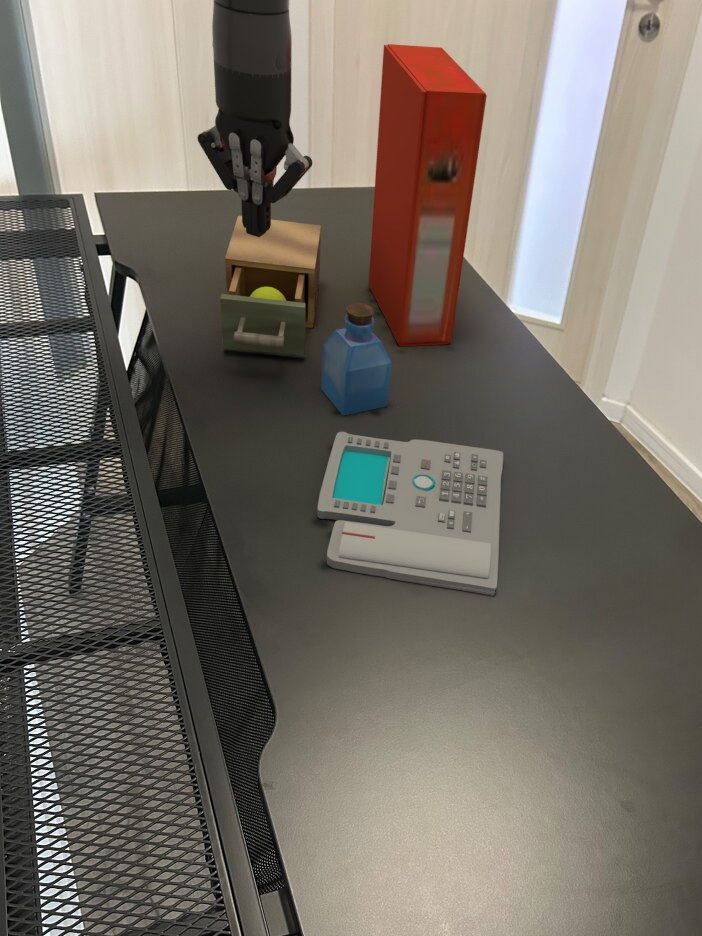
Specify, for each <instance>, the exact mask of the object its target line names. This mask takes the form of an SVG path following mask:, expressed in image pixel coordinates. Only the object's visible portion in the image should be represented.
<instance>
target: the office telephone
mask: <svg viewBox="0 0 702 936" xmlns="http://www.w3.org/2000/svg"><path fill="white" fill-rule="evenodd" d="M503 466H504V451H500V450H496V449H490V448H484V447H477V446H476V447H475V446H468V445H462V444H455V443H447V442H440V441H435V440H426V439H418V438H417V439H410V440H409V441H400V440H393V439H384V438H377V437H371V436H364V435H357V434H351V433H347V432H346V431H338V432H337V433H336V435H335V438H334V441H333V444H332V448H331V451H330V454H329V458H328V461H327V466H326V469H325V473H324V477H323V479H322V484H321V487H320V491H319V497H318V501H317V509H316V510H317V513H316V517H317V518H319V519H321V520H325V519H326V520H335V522H334V524H333V528H332V531H331V533H330V534H331V535H330V539H329V543H328V547H327V551H326V564H327V566H329V567H331V568H332V569H335V570H341V571H347V572H351V573H357V574H363V575H368V576H375V577H383V578H386V579H391V580H394V581H395V580H396V581H402V582H407V583H415V584H421V585H427V586H433V587H439V588H446V589H452V590H456V591H457V590H458V591H464V592H470V593H476V594H482V595H488V596H492V597H493V596H494V595H495V594H496V592H495V593H494V594H492V593H486V592H481V591H475V590H469V589H462V588H456V587H450V586H444V585H437V584H431V583H438V584H445V585H454V586H462V587H470V588H475V589H483V590H490V591H495V590H496V591H497V588H498V574H499V550H500V548H499V547H500V521H501V520H500V519H501V491H502V490H501V489H502V488H501V487H502V484H501V483H502V474H503ZM412 580H415V581H412ZM419 581H424V582H419ZM425 582H431V583H425Z"/></svg>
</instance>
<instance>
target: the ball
mask: <svg viewBox="0 0 702 936" xmlns="http://www.w3.org/2000/svg"><path fill="white" fill-rule="evenodd" d="M250 297H255V298H264V299H273V300H282V301H286V299H285V297H284V296H283V294H282V293H281V292H279V291H278V290H277V289H275V288H272V287H261V288H258V289H256V290H255V291H254V292H253V293H252V294H251V295H250Z"/></svg>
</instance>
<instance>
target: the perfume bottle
mask: <svg viewBox="0 0 702 936" xmlns="http://www.w3.org/2000/svg"><path fill="white" fill-rule="evenodd" d="M374 311H375V310H374V309H373V307H372V306H370V305H368V304H366V303H361V302H354V303H350V304H348V305H347V306H346V313H347V314H346V315H345V316H344V328H339V329H335V330H334V331H333V332H332V334H331V335H330V336H329V337H328V339H327V340H326V341H325V342H324V343H323V344H322V353H321V354H322V355H321V356H322V357H321V360H322V361H321V379H320V380H321V382H320V383H321V384H320V390H321V392H323V394H325V396H326V397H327V398H328V400H329V401H330V402H331V403H332V405H333V406H334V407H335V408H336V410H338V412H339V413H340V414H341V416H342V417H343V416H348V415H349V416H350V415H353V414H358V413H362V412H367V411H372V410H377V409H381V408H385V407H388V401H389V392H390V381H391V373H392V372H391V371H392V361H391V359H390V357H389V355H388V353H387V351H386V349H385V347H384V344H383V343H382V340H380V339H379V338H378V337H377V336H376V334H375V333H374V332H373V331H374V326H375V319H374V317H373V315H374V313H375V312H374Z"/></svg>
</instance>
